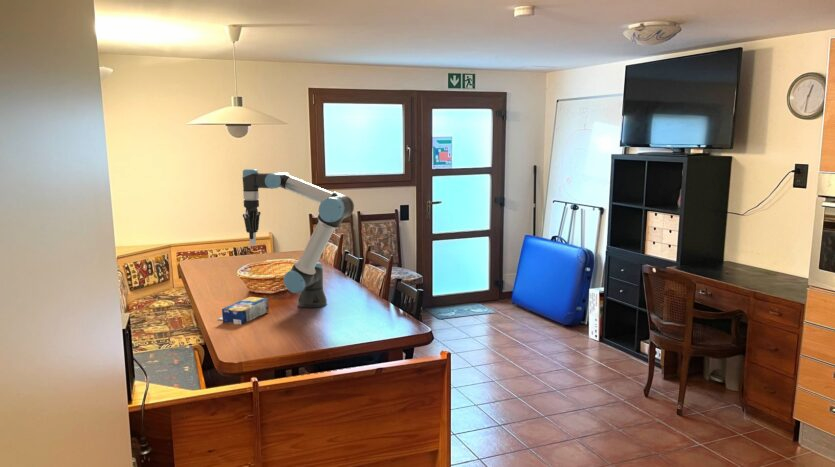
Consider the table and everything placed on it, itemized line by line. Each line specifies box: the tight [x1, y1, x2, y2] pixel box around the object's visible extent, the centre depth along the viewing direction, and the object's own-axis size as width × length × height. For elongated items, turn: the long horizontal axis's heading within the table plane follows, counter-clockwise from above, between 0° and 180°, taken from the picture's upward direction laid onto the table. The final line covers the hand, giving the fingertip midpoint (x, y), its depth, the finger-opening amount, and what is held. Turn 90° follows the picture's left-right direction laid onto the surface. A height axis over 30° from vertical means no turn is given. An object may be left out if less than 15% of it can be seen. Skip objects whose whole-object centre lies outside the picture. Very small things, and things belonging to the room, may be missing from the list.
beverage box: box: [221, 296, 270, 326], centre depth 289 cm, size 7×11×22 cm
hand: (253, 244), depth 304 cm, fingers closed
